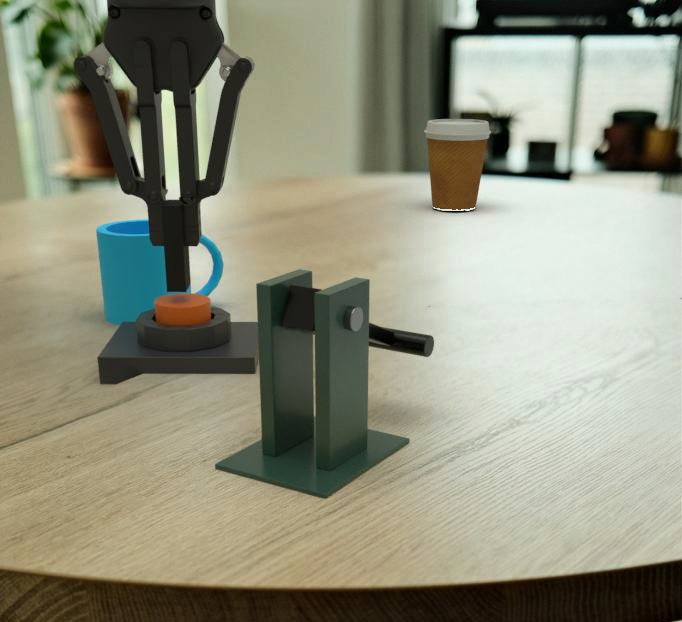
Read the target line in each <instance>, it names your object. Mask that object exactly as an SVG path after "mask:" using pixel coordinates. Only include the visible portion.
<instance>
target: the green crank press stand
mask: <svg viewBox="0 0 682 622" xmlns="http://www.w3.org/2000/svg"><path fill="white" fill-rule="evenodd" d="M370 282H371V281H370V278H369V279H368V278H362V277H353V278H350V279H347V280H345V281H342V282H340V283H336V284H334V285H331V286H329V287H326V288H324V289H322V290H321V291H318V292H315V293H314V306H315V335H313V334H307V333H304V332H301V331H298V330H294V329H291V328H288V327H285V326H282V321H283V316H284V312H285V307H286V302H287V297H288V292H289V287H290V285H297V286H304V287H310V288H313V271H312V270H308V269H307V270H306V269H300V268H299V269H296V270H292V271H289V272H287V273H284V274H281V275H278V276H276V277H273V278H269V279H267V280H263V281H260V282H257V283H256V287H255V288H256V311H257V312H256V315H257V322H258V344H259V360H258V364H259V365H258V368H259V369H258V371H259V372H258V373H259V393H260V394H259V395H260V396H259V397H260V398H259V399H260V400H259V401H260V425H261V427H260V428H261V429H260V430H261V439H259V440H257V441H256V442H254V443H252V444H250V445H248V446H247V447H244V448H243V449H241V450H239V451H237V452H235V453H233V454H231V455H229V456H227V457H226V458H224V459H222V460H220V461H218V462H217V463H215V464H214V469H215V470H217V471H220V472H221V471H222V472H225V473H229V474H233V475H236V476H240V477H243V478H247V479H250V480H251V479H252V480H254V481H258V482H262V483H265V484H268V485H269V484H270V485H272V486H276V487H280V488H284V489H287V490H290V491H291V490H292V491H295V492H299V493H302V494H306V495H309V496H313V497H317V498H320V499H328V498H329V497H331V496H333V495H334V494H335V493H337V492H338V491H340V490H341V489H343V488H344V487H346V486H347V485H349V484H351V482H354V481H355V480H356V479H358V478H359V477H361V476H362V475H363V474H365V473H366V472H368V471H370V470H371V469H373V468H375V466H377V465H379V464H380V463H382V462H384V461H385V460H387V459H388V458H390V457H391V456H392V455H394V454H396V453H397V452H399V451H401V449H403V448H405V447H406V446H408V445H409V444H410V437H405V436H401V435H396V434H391V433H388V432H383V431H379V430H375V429H370V428H368V427H369V426H368V425H369V423H368V422H369V421H368V420H369V355H370V353H369V350H370V349H369V348H370V347H369V323H370V287H371V286H370ZM314 384H315V385H314ZM314 386H315V387H314ZM314 391H315V393H314ZM314 398H315V399H314Z"/></svg>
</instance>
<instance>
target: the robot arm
mask: <svg viewBox="0 0 682 622" xmlns="http://www.w3.org/2000/svg"><path fill="white" fill-rule="evenodd" d="M216 7H217V6H216V0H106V8H107V19H106V23H105V26H104V28H103V31H102V36H101V37H102V42H101V43H100V44H98V45H96V46H95V47H94V48H93V49H91V50H90V51H89V52H88V53H87V54H85V55H80V56H77V57H75V59H74V60H73V68H74V70H75V72H76V73H77V75H78V76H79V78H80V79H81V81H82V82H83V84H84V85H85V86H86V88H87V89H88V90H89V92H90V94H91V98H92V101H93V104H94V107H95V111H96V114H97V117H98V120H99V123H100V126H101V130H102V132H103V136H104V139H105V142H106V146H107V149H108V152H109V155H110V158H111V161H112V164H113V168H114V171H115V174H116V177H117V181H118V183H119V186H120V190H121V191H122V192H123V194H124V195H127V196H133V197H135V198H136V197H137V198H139V199H141V200H143V202H144V203H145V204H146V208H147V219H148V222H149V235H150V241H151V243H152V245H153V246H164V255H165V270H166V285H167V292H186V291H187V289H188V288H189V286H190V284H192V283H191V282H192V281H191V264H190V262H191V261H190V247H199V245H200V244H201V243H200V240H201V237H202V235H203V234H202V233H203V232H202V231H203V230H202V217H201V216H202V215H201V214H202V213H201V212H202V211H201V202H202V200H205V199H207V198H210V197H214V196H217V195H218V194H219V193H220V191H221V190H222V188H223V186H224V182H225V178H226V172H227V167H228V162H229V157H230V151H231V147H232V141H233V137H234V131H235V125H236V120H237V115H238V110H239V105H240V100H241V95H242V92H243V91H242V90H243V89H244V88H245V86H246V84H247V82H248V80H250V77H251V76H252V74H253V72H254V70H255V62H254V60H253V59H252V58H251V57H249V56H243V55H242V54H241V53H239V52H238V51H237V50H235V49H234V48H232V47H231V46H229V45H228V44H227V43H225V35H224V32H223V30H222V28H221V26H220V24H219V22H218V18H217V10H216V9H217V8H216ZM217 58H218V60H219V63H220V66H219V69H218V74H219V77H220V78H221V80H223V81H224V83H223V86H222V89H221V92H220V95H219V102H218V107H217V113H216V118H215V124H214V129H213V135H212V140H211V144H210V145H211V146H210V150H209V156H208V161H207V167H206V173H205V177H204V178H202V179H200V178H201V175H200V160H199V139H198V119H197V118H198V117H197V88H198V87H199V86H200V85H201V84H202V82H203V80H204V79H205V77H206V76H207V74H208V73H209V71H210V69H211V68H212V66H213V64H214V63H215V62H216V59H217ZM112 59H113V60H114V61H115V62H116V64H117V66H118V67H119V68H120V69H121V71H122V72H123V74H124V75H125V76H126V78H127V79H128V81H129V82H130V84H132V85H133V86H134V87H135V88H136V100H137V105H138V110H139V124H140V137H141V138H140V139H141V152H142V166H143V177H142V175H141V172H140V168H139V165H138V161H137V158H136V155H135V152H134V148H133V146H132V142H131V139H130V135H129V132H128V129H127V126H126V122H125V120H124V116H123V112H122V110H121V106H120V103H119V100H118V96H117V94H116V91H115V87H114V85H113V83H112V80H111V77H112V76H113V74H114V69H113V66H112V62H111V61H112ZM162 91H168V92H171V93H172V102H173V107H174V116H175V131H176V132H175V133H176V148H177V150H176V151H177V165H178V183H179V197H178V199H167V194H168V192H169V189H168V188H167V176H166V160H165V144H164V143H165V142H164V128H163V127H164V125H163V111H162V102H163V93H162Z"/></svg>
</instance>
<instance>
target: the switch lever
mask: <svg viewBox="0 0 682 622" xmlns="http://www.w3.org/2000/svg"><path fill="white" fill-rule="evenodd" d="M321 290H323V289H322V288H317V287H312V288H310V287H304V286H297V285H290V287H289V292H288V297H287V302H286V307H285V312H284V316H283V321H282V326H285V327H288V328H291V329H294V330H298V331H301V332H304V333H307V334H313V336H315V306H314V293H315V292H318V291H321ZM434 347H435V338H434V336H433V335H431V334H426V333H421V332H414V331H407V330H402V329H396V328H392V327H391V328H390V327H384V326H380V325H377V324H374V323H372V322H369V348H374V349H379V350H386V351H391V352H395V353H401V354H402V353H403V354H407V355H412V356H417V357H423V358H429V357H430V356H432V354H433V351H434Z"/></svg>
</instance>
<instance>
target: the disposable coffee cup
mask: <svg viewBox="0 0 682 622" xmlns="http://www.w3.org/2000/svg"><path fill="white" fill-rule="evenodd" d="M423 133H424V134H425V138H426V142H427V155H428V167H429V169H428V170H429V180H430V192H431V194H430V195H431V206H433V207H435V208H440V209H452V210H456V209H458V210H461V209H470V208H474V207H477V201H478V197H479V190H480V184H481V179H482V174H483V168H484V162H485V156H486V149H487V145H488V139H490V135H491V134H492V130H490V123H489V121H487V120H484V119H483V120H482V119H473V118H440V119H430V120H428V121H427V123H426V127H425V129H424V130H423Z"/></svg>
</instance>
